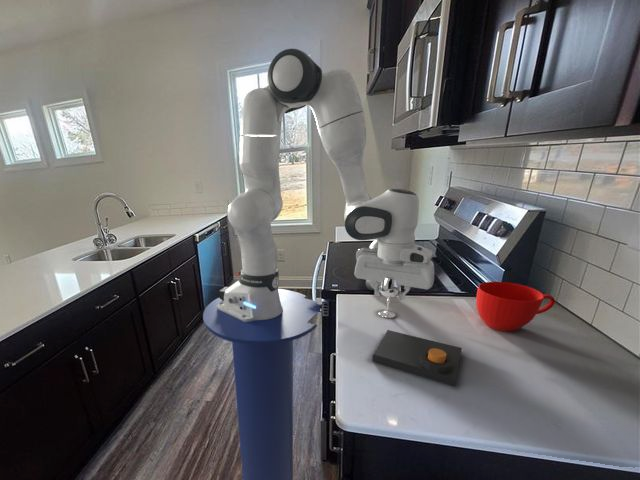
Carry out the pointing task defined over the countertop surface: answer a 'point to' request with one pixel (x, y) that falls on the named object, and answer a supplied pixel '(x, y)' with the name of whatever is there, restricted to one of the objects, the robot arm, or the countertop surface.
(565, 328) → the countertop surface
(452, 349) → the dark grey button box
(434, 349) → the button
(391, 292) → the wineglass
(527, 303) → the ceramic cup
